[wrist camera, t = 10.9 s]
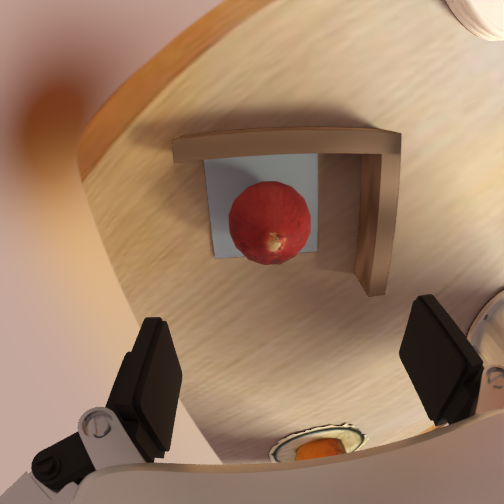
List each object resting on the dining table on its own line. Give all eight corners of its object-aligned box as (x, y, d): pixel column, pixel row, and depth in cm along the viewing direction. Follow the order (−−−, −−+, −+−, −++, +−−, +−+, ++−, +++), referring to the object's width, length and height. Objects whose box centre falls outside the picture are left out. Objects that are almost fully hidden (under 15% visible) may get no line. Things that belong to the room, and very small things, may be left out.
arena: (369, 272, 28) (384, 294, 25) (203, 284, 28) (197, 310, 25) (379, 128, 22) (401, 133, 19) (182, 135, 22) (171, 140, 19)
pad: (316, 249, 27) (317, 251, 27) (215, 257, 27) (215, 258, 27) (316, 148, 23) (317, 149, 23) (203, 155, 23) (203, 155, 23)
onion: (299, 238, 26) (320, 289, 19) (232, 240, 26) (228, 293, 19) (301, 171, 24) (327, 200, 16) (228, 173, 24) (222, 202, 16)
